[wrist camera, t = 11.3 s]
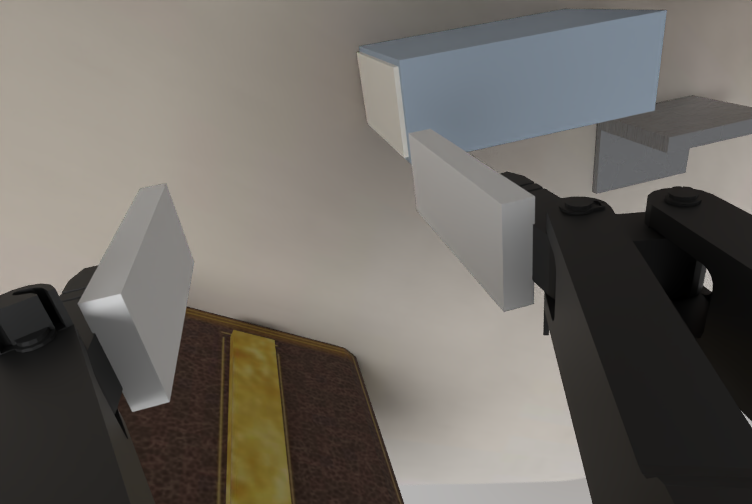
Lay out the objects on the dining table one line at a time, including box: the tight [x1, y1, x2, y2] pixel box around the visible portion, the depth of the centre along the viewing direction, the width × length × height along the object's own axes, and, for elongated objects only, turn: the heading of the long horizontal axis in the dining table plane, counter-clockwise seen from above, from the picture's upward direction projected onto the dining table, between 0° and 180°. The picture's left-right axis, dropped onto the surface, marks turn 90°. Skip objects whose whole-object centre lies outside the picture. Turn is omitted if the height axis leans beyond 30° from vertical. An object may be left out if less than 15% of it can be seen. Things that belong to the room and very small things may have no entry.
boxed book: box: [357, 9, 667, 164], centre depth 29 cm, size 5×14×9 cm, turn 98°
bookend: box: [592, 95, 752, 194], centre depth 36 cm, size 6×8×7 cm
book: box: [117, 307, 404, 504], centre depth 27 cm, size 22×8×25 cm, turn 63°
